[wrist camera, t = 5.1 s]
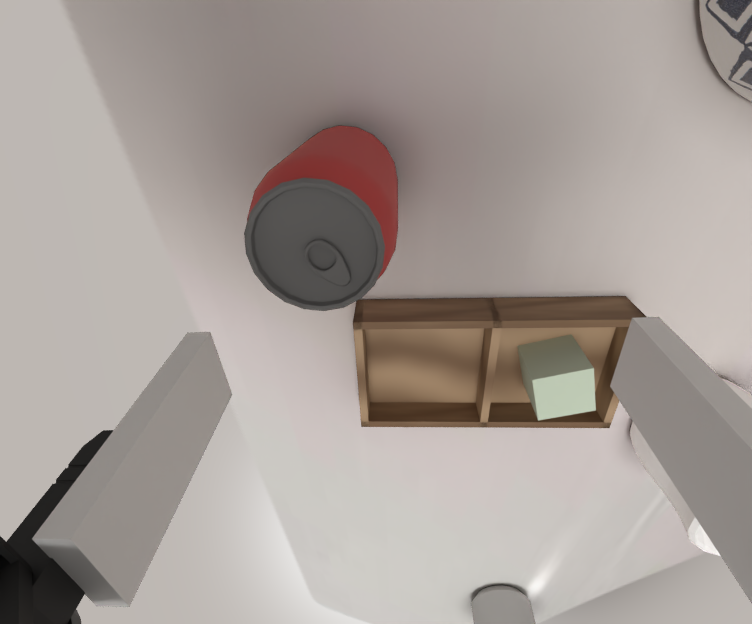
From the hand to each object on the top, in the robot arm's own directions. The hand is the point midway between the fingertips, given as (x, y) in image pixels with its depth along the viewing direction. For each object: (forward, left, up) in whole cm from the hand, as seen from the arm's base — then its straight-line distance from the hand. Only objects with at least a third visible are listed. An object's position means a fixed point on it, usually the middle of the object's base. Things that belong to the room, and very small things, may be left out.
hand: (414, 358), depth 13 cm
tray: (+12, +6, -16) cm, 21 cm away
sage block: (+12, +11, -15) cm, 22 cm away
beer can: (-2, -4, -16) cm, 17 cm away
